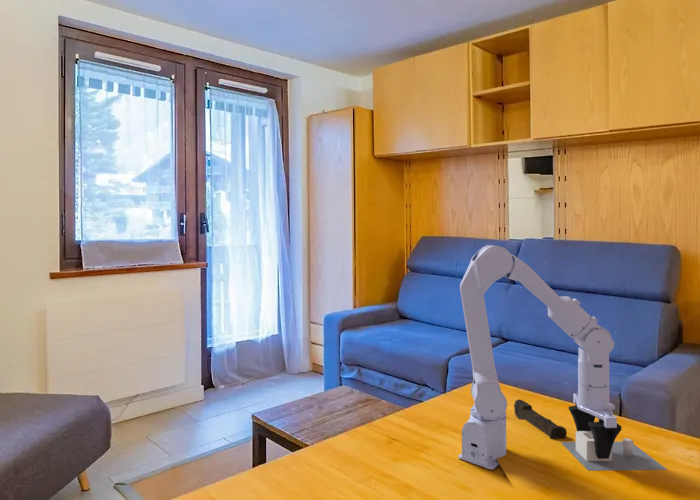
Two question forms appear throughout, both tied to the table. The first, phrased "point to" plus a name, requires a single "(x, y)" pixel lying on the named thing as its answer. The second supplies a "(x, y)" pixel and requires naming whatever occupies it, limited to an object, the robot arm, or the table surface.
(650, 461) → the plate
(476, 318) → the robot arm
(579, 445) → the hollow square block
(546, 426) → the hand tool
